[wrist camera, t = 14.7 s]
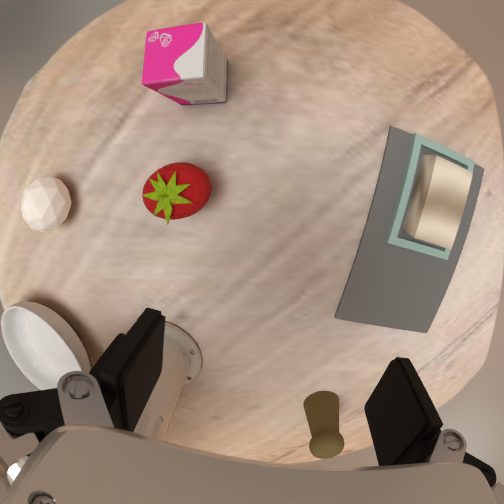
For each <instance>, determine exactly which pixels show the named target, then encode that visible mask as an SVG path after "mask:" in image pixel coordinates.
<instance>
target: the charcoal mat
mask: <svg viewBox="0 0 504 504" xmlns="http://www.w3.org/2000/svg"><path fill="white" fill-rule="evenodd" d="M411 137H412V134H410V133H408V132H405V131H403V130H400V129H398V128H395V127H392V126H390V129H389V134H388V138H387V143H386V148H385V152H384V157H383V161H382V165H381V169H380V173H379V177H378V181H377V185H376V189H375V193H374V197H373V200H372V204H371V208H370V211H369V215H368V218H367V222H366V225H365V228H364V232H363V235H362V238H361V241H360V245H359V248H358V251H357V254H356V257H355V260H354V263H353V266H352V269H351V272H350V275H349V278H348V281H347V284H346V287H345V289H344V292H343V295H342V298H341V301H340V303H339V306H338V309H337V311H336V314H335V318H337V319H343V320H348V321H354V322H359V323H365V324H371V325H377V326H383V327H389V328H396V329H402V330H409V331H415V332H422V333H427V332H428V330H429V328H430V326H431V324H432V322H433V319H434V317H435V315H436V313H437V311H438V309H439V307H440V304H441V302H442V300H443V298H444V295H445V293H446V291H447V288H448V286H449V283H450V281H451V278H452V276H453V273H454V271H455V268H456V265H457V263H458V260H459V257H460V254H461V252H462V249H463V246H464V243H465V240H466V237H467V233H468V230H469V227H470V224H471V220H472V217H473V213H474V210H475V206H476V202H477V198H478V194H479V190H480V186H481V182H482V177H483V172H484V169H483V168H482V167H480V166H478V165H476V164H474V169H473V176H472V180H471V184H470V188H469V192H468V196H467V200H466V204H465V207H464V211H463V215H462V218H461V221H460V225H459V228H458V231H457V234H456V237H455V240H454V243H453V246H452V249H451V251H450V254H449V257H448V260H445V259H442V258H438V257H435V256H432V255H428V254H425V253H421V252H418V251H414V250H411V249H407V248H404V247H400V246H397V245H393V244H389V243H387V242H386V241H385V237H386V234H387V231H388V228H389V224H390V221H391V218H392V214H393V211H394V207H395V204H396V200H397V196H398V193H399V189H400V185H401V181H402V177H403V173H404V169H405V165H406V160H407V156H408V151H409V147H410V142H411ZM421 154H422V155H437V156H439V157H441V158H444V159H446V160H448V161H450V162H452V163H454V164H456V165H458V166H460V167H462V168H463V166H464V165H462V164H460V163H457V162H455V161H453V160H451V159H449V158H447V157H445V156H443V155H440V154H438V153H436V152H434V151H432V150H429V149H427V148H425V147H422V146H421V148H420V153H419V158H418V162H417V167H416V171H415V175H414V179H413V183H412V187H411V191H410V195H409V198H408V202H407V206H406V209H405V213H404V216H403V219H402V223H401V226H400V229H399V232H398V236H399V237H403V238H406V239H410V240H413V241H416V242H420V243H423V244H426V245H429V246H433V247H436V248H439V249H441V246H438V245H435V244H432V243H429V242H426V241H423V240H420V239H416V238H414V237H412V236H411V235H409V234H408V233H406V232H405V231H403V230H402V226H403V223H404V219H405V216H406V213H407V209H408V206H409V202H410V199H411V195H412V191H413V188H414V184H415V180H416V176H417V172H418V168H419V163H420V159H421Z"/></svg>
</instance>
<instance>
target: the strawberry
mask: <svg viewBox="0 0 504 504" xmlns="http://www.w3.org/2000/svg"><path fill="white" fill-rule="evenodd" d="M210 194H211V183H210V180H209V177H208V176H207V174H206V173H205V172H204V171H203V170H202V169H201V168H199V167H197V166H195V165H193V164H189V163H173V164H169V165H166V166H164V167H162V168H160V169H158V170H157V171H156V172H155V173H153V174H152V175H151V176H150V177H149V179H148V180H147V181H146V183H145V185H144V188H143V195H142V196H143V201H144V204H145V206H146V207H147V209H148V210H149V211H150V212H151V213H152V214H154V216H157V217H160V218H163V219H166V222H167V224H168V223H169V220H170V219H173V220H174V219H181V218H185V217H188V216H191V215H193V214H195V213H196V212H198V211H199V210H200V209H201V208H202V207H203V206H204V205H205V204H206V203H207V201H208V199H209V197H210Z"/></svg>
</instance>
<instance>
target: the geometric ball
mask: <svg viewBox="0 0 504 504" xmlns="http://www.w3.org/2000/svg"><path fill="white" fill-rule="evenodd" d="M71 203H72V202H71V198H70V194H69V191H68V189H67V187H66V186H65V185H64V184H63V182H62V181H61V180H60V179H57V178H54V177H51V176H48V175H46V176H43V177H40V178H37V179H36V180H35V181H33V182H32V183H31V184H30V185H29V186H28V187H26V188H25V189H24V193H23V198H22V202H21V210H22V216H23V219H24V220H25V221H26V222H27V224H28V225H29V226H30V227H31V228H32V229H33V230H37V231H41V232H45V233H46V232H49V231H52V230H54V229H57V228H59V227H60V225H61V224H62V223H63V222H64V221H65V220H66V218H67V216H68V213H69V210H70V206H71Z"/></svg>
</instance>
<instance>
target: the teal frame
mask: <svg viewBox="0 0 504 504" xmlns="http://www.w3.org/2000/svg"><path fill="white" fill-rule="evenodd" d="M421 146H422V147H425V148H427V149H429V150H432V151H434V152H436V153H438V154H440V155H443V156H445V157H447V158H449V159H451V160H453V161H455V162H457V163H460V164H462V165H464V166H463V168H464V169H466V170H468V171H470V172H472V173H473V169H474V164H475V162H474V161H472V160H471V159H469V158H467V157H465V156H463V155H461V154H459V153H457V152H455V151H453V150H451V149H449V148H447V147H445V146H442V145H440V144H438V143H436V142H434V141H431V140H429V139H427V138H425V137H422V136H420V135H418V134H412V137H411V142H410V147H409V151H408V156H407V160H406V165H405V169H404V173H403V177H402V181H401V185H400V189H399V193H398V196H397V200H396V204H395V207H394V211H393V214H392V218H391V221H390V224H389V228H388V231H387V234H386V237H385V241H386V242H387V243H389V244H393V245H397V246H400V247H404V248H407V249H411V250H414V251H418V252H421V253H425V254H428V255H432V256H435V257H438V258H442V259H445V260H448V257H449V254H450V251H451V250H450V249H447V248H444V247H441V249H439V248H436V247H433V246H429V245H426V244H423V243H420V242H416V241H413V240H410V239H406V238H403V237H399V236H398V232H399V229H400V226H401V223H402V219H403V216H404V213H405V209H406V206H407V202H408V198H409V195H410V191H411V187H412V183H413V179H414V175H415V171H416V167H417V162H418V158H419V153H420V148H421Z"/></svg>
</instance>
